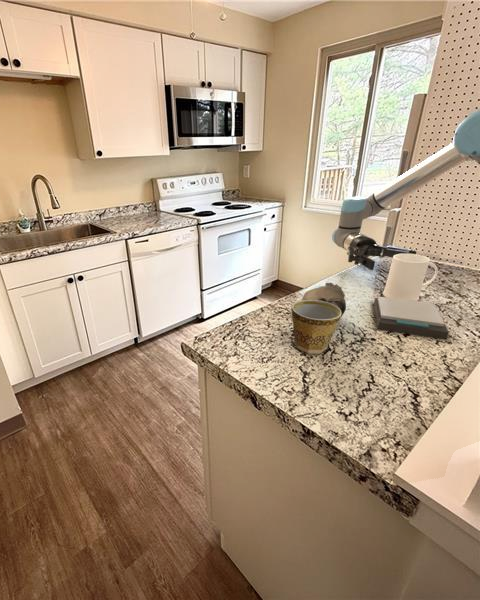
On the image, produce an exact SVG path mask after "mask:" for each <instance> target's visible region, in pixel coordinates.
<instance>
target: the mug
mask: <svg viewBox="0 0 480 600" xmlns="http://www.w3.org/2000/svg"><path fill="white" fill-rule="evenodd" d="M429 266H431V267H432V268H433V269H434V275H433V276H432V277H431V279H429V280H428V281H427V282H424V281H425V278H426V274H427V272H428V268H429ZM438 273H439V269H438V267H437V265H436V264H435V263H434V262H432V261H431V258H429V257H428V256H425V255H422V254H417V253H416V254H396V255H394V256H393V257H392V260H391V264H390V268H389V271H388V275H387V279H386V283H385V286H384V290H383V291H382V295H383V297H388V298H397V299H406V300H415V301H420V295H421V294H420V293H421V291H422V288H424V287H428V286H429V285H430V284H431V283H433V282H434V281H435V280H436V279H437V277H438Z"/></svg>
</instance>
